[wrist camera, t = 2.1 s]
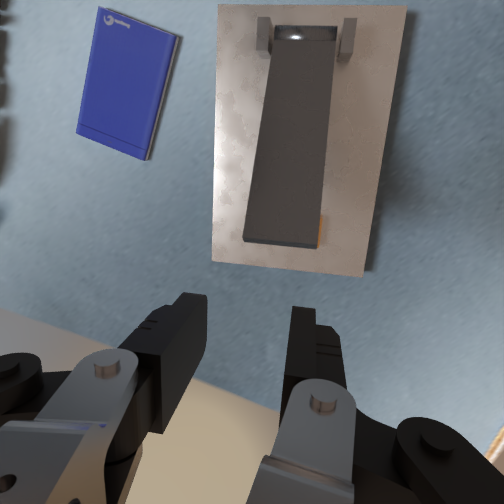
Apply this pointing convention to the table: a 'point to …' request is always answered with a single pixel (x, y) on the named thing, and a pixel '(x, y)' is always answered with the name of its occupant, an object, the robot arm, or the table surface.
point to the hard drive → (125, 83)
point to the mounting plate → (339, 130)
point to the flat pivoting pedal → (292, 139)
